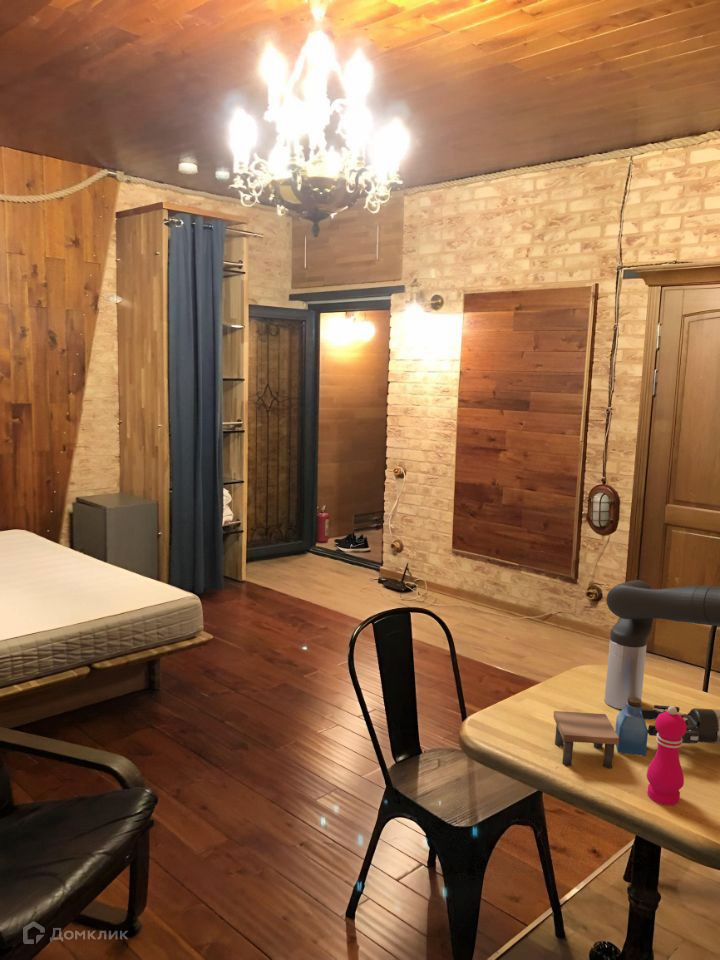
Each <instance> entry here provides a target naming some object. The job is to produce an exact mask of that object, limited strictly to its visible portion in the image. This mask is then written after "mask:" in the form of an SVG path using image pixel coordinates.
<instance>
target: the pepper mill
mask: <svg viewBox="0 0 720 960" xmlns="http://www.w3.org/2000/svg"><path fill="white" fill-rule="evenodd" d="M675 707H676V706H673V705H671V706H670V707H669V708H668V712H663V713H661V714H659V715H658V717H657V718H656V720H655V721H654V722H655V723H654V725H655V728H656V730H657V731H658V733H657V736H656V737H655V741H656V742H657V749H656V753H655V755H654V758H653V759H652V760H651V762H650V763H649V766H648V768H647V770H646V779H647V781H648V783H649V784H647V796H648V798H650V799H651V800H652V801H654V802H655V803H657V804H660V805H665V806H675V805H677V804H679V803H680V800H681V799H680V797H681V791H680V790H681V789H682V788H683V787H684V784H685V775H684V771H683V768H682V765H681V761H680V757H679V756H680V748H681V747H682V746H683V743H682V741H683V739H682V736H684V734H685V733H686V722H685V720H684V719H683V718H682V717H681V716H680V715H679V714H677V709H676V708H675Z"/></svg>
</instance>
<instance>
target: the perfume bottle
mask: <svg viewBox="0 0 720 960" xmlns="http://www.w3.org/2000/svg"><path fill="white" fill-rule="evenodd" d="M627 700H628V702H627V703H626V708H627V709H620V711H619V713H618V714H617V715H616V718H615V719H616V721H615V729H614V730H615V732H616V733H617V735H618V737H619V745H615V747H616V752H617V753H618V754H619V753H620V754H628V755H634V756H643V757H646V756H647V745H648V736H649V734H648V726H647V724H646V719H644V718H643V715H642V712H641V709H643V707H642V702H643V701H642V698H641V699H639V698H636V697H628V698H627Z"/></svg>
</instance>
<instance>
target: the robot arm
mask: <svg viewBox="0 0 720 960" xmlns="http://www.w3.org/2000/svg"><path fill="white" fill-rule="evenodd" d="M605 601H606V605H607V607H608V610H609V611H610V612H611V613H612V614H613V615H615V616H617V618H618V617H619V618H618V620H617V622H616V623H615V624H614V625H613V626H612V627H611V630H610V633H609V634H610V635H609V646H608V658H607V668H606V669H607V670H606V678H605V689H604V690H605V691H604V698H603V699H604V703H605V704H607V705H609V706H610V707H612V708H615V709H618V710H622V709H627V708H626V703H627V702H628V700H627V698H628V697H636V698H639V699H641V700H642V695H643V686H644V678H645V677H644V675H645V665H646V657H647V645H648V638H649V636H650V634H651V632H652V629H653V622H654V619H656V620H657V619H659V620H667V621H673V622H678V623H679V622H681V623H688V624H697V625H705V626H707V625H708V626H716V627H718V626H719V627H720V586H715V585H714V586H713V585H684V586H673V587H668V588H667V587H666V588H656V589H655V588H652V586H651V585H650V584H649V583H648V582H646V581H643V580H639V579H634V580H630V581H626V582H621V583H618V584H616V585H614V586H613V587H611V589H609V591H608V592H607V595H606V600H605ZM669 707H670V706H669V705H661V704H660V705H659V704H655V705H653V709H649V708H648V709H647V708H642V709H641V712H642V715H643V718H644V720H655V721H656V718H657V717H658V715H659V714H661V713H663V712H668V708H669ZM674 707H675V708H676V709H677V714H679V715H680V716H681V717H682V718H683V719H684V720H685V722H686V733H685V734H684V736H682V739H683V741H682V744H698V743H707V744H720V709H711V708H710V709H709V708H696V707H695V708H692V709H690V711H689V712H688V713H683V712H680V710H681V709H680V707H678V706H674ZM647 729H648V736H651V737H652V736H653V737H657V733H658V731H657V730H656V728H655V724H650V725H648V726H647Z"/></svg>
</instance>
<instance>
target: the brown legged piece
mask: <svg viewBox="0 0 720 960" xmlns="http://www.w3.org/2000/svg"><path fill="white" fill-rule="evenodd" d="M553 718H554V719H553V720H554V721H555V723H556V725H555V736H554V738H555V739H554V745H555V746H557V747H563V751H562V760H561V761H562V765H564V766H565V767H571V766H573V765H572V764H573V763H572V762H573V753H574V752H573V751H574V743H583V744H584V743H586V744H587V743H588V744H593V748H595V749H597V750H598V749H599V750H601V749H603V744H604V750H603V751H604V752H603V762H602V763H603V764H602V766H603V768H606V769H608V770H609V769H610V770H611V769H612V768H613V766H614V765H613V763H614V754H615V746H616V745H619V737H618V735H617V733H616V732H615V730H616V729H615V728H614V726H613V724H612V723H611V721H610V719H609V718H608V716H607V714H606V713H593V712H592V713H591V712H577V711H560V710H559V711H557V710H554V711H553Z"/></svg>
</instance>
